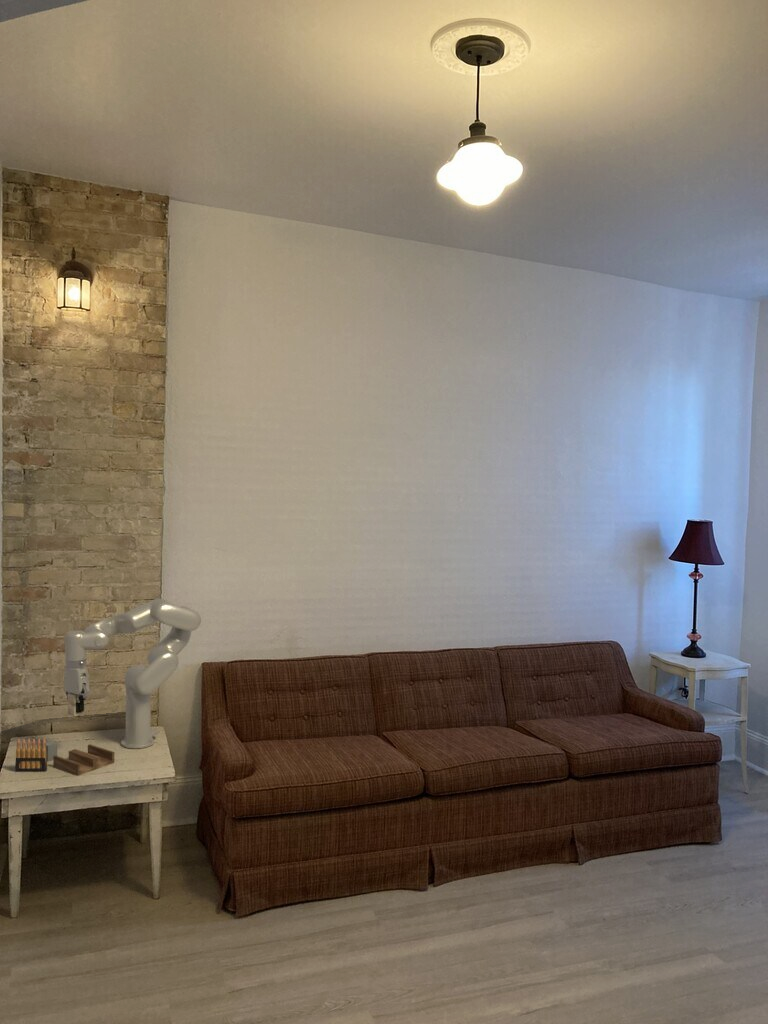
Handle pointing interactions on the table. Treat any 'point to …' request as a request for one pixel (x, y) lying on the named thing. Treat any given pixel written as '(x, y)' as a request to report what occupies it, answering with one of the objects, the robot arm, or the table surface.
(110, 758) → the slot rack
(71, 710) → the birch block
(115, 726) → the table surface
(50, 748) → the rubber block
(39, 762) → the ammunition clip
